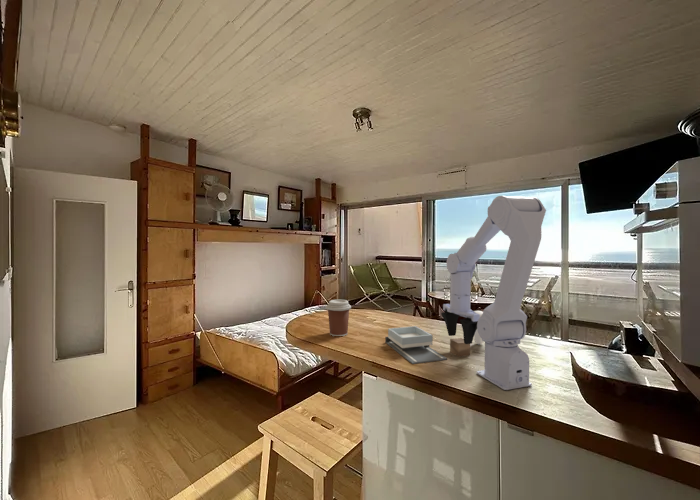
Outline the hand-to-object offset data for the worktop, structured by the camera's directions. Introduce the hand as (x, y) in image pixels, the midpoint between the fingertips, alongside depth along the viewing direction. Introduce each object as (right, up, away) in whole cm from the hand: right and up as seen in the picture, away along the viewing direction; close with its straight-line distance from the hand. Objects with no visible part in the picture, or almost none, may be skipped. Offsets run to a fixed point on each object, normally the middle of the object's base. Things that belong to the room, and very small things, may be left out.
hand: (459, 339), depth 90 cm
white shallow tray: (-14, -4, +5) cm, 16 cm away
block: (0, -4, 0) cm, 4 cm away
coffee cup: (-37, -4, +19) cm, 42 cm away
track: (-13, -4, +3) cm, 14 cm away
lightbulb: (+9, -4, +8) cm, 13 cm away
